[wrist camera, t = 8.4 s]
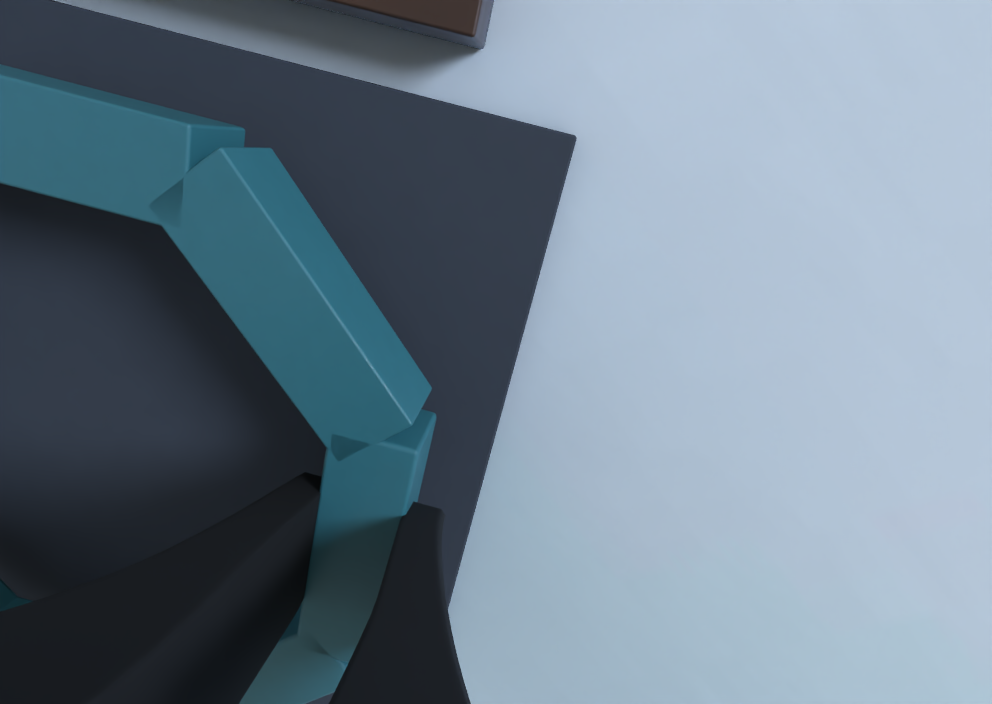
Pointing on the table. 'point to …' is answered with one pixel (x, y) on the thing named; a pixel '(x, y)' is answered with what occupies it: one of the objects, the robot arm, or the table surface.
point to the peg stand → (422, 16)
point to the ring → (254, 327)
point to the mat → (206, 326)
